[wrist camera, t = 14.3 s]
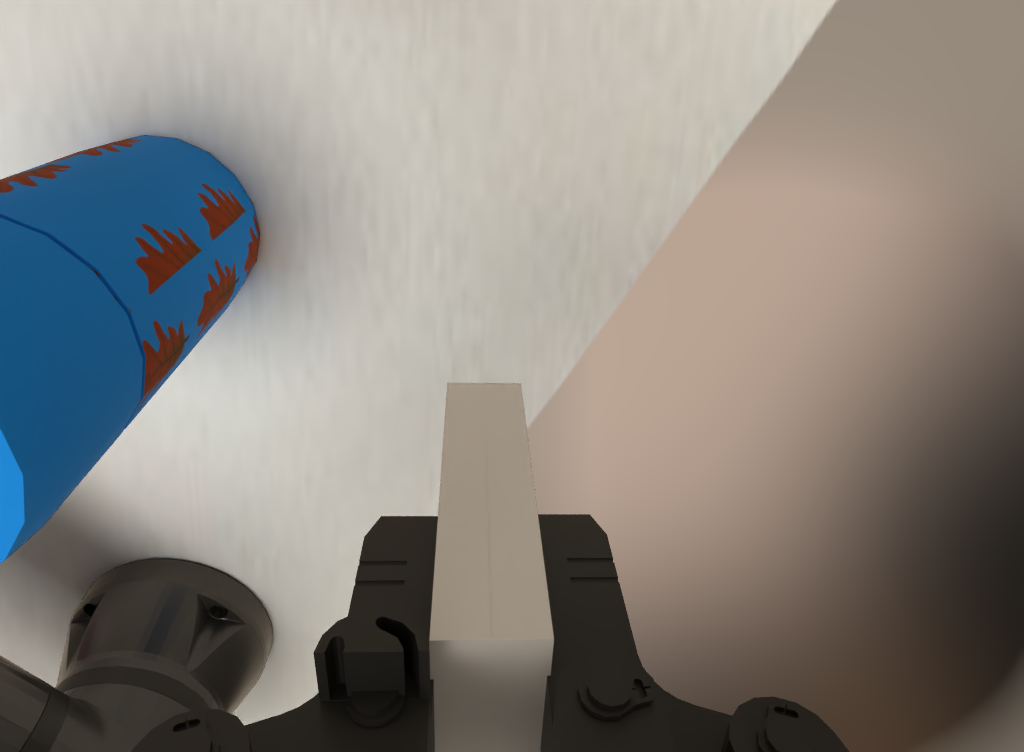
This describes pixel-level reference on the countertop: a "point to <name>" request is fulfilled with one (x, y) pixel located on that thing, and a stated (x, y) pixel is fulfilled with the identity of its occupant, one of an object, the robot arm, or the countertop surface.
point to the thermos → (104, 303)
